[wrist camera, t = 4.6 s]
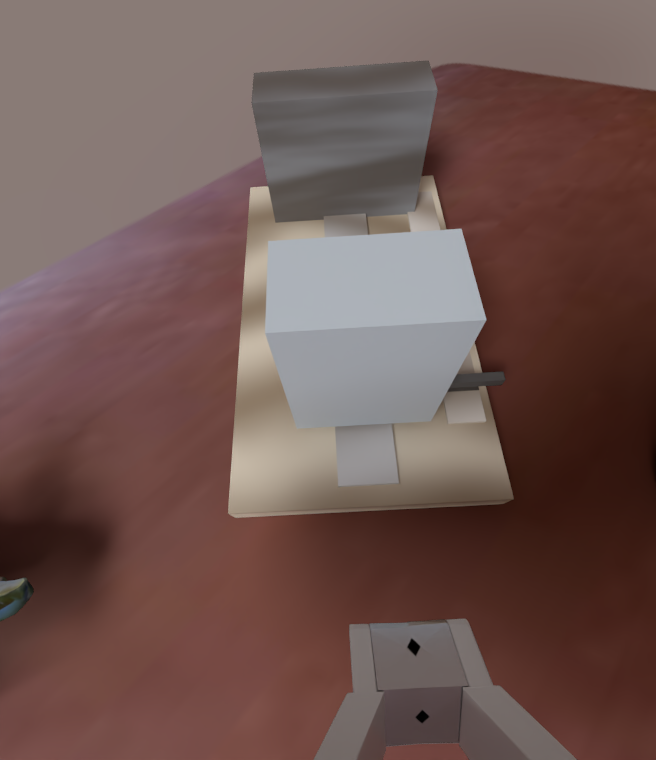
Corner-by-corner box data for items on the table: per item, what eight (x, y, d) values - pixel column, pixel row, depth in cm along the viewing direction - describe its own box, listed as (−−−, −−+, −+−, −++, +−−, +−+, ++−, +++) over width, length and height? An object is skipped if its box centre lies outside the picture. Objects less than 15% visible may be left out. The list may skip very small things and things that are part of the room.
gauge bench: (502, 503, 20) (615, 452, 12) (235, 517, 21) (158, 476, 12) (429, 192, 31) (460, 49, 23) (254, 203, 31) (220, 66, 23)
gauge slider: (508, 417, 20) (615, 312, 12) (296, 428, 20) (265, 333, 12) (484, 328, 23) (560, 193, 15) (296, 339, 23) (269, 212, 15)
